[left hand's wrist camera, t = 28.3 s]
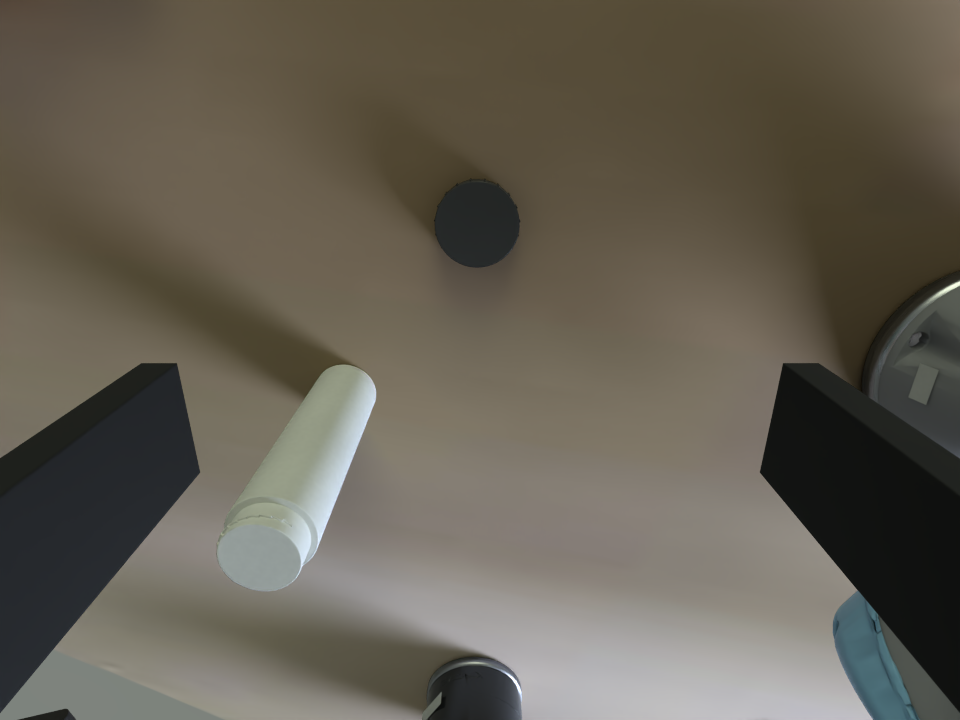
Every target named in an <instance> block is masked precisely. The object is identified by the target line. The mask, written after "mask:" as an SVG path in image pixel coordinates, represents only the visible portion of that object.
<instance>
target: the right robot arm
mask: <svg viewBox="0 0 960 720" xmlns="http://www.w3.org/2000/svg"><path fill="white" fill-rule="evenodd" d="M521 701H522V695H521V685H520V682H519V680H518V678H517V676H516V675H515V674H514V672H513V671H512V670H511V669H509V668H508V667H507V666H505V665H503V664H502V663H499V662H497V661H494V660H491V659H487V658H480V657H468V658H461V659H457V660H454V661H451V662H449V663H447V664H445V665H443V666H442V667H440V668H439V669H438V670H437V671H436V672H435V673H434V674H433V675H432V677H431V679H430V681H429V684H428V690H427V708H426V710H425V711H424V712H423V715H422V720H522V710H521ZM19 720H76V719H75V718H74V716H73V715H72V714H71V713H70V712H69V710H68V709H62V710H58V711H54V712H49V713H45V714H41V715H36V716H32V717H28V718H24V719H19Z"/></svg>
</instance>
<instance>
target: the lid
mask: <svg viewBox="0 0 960 720" xmlns="http://www.w3.org/2000/svg"><path fill="white" fill-rule="evenodd" d="M437 207H438V210H437V213H436V217H435V219H434V221H435V232H436V236H437V239H438V242H439V244H440V246H441V248H442V249H443V250H444V252H445V253H446V254H447V255H448V256H449V257H450V258H451V259H453V260H454V261H456V262H458V263H460V264H462V265H465V266H469V267H486V266H490V265H493V264H495V263H497V262H499V261H500V260H502V259H503V258H504V257H505V256H506V255H507V254H508V253H509V252H510V251H511V249H513V246H514V245H515V243H516V240H517V237H518V236H519V235H518V233H519V222H520V220H519V215H518V212H517V206H516V204H514V202H513V200H512V199H511V197H510V194H509V193H507V192H506V191H505V190H504V189H503V188H501V187H500V186H499V184H495V183H493V182H490V181H486V179H484V180H480V179H474V180H472V179H470V180H468V181H465V182H462V183H460V184H458V183H457V184H456V186H455V187H453V188H452V189H451V190H450V191H449V192H446V193H445V196H444V198H443V199H442V201H441V203H440V204H439V205H438V206H437Z"/></svg>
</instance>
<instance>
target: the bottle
mask: <svg viewBox="0 0 960 720" xmlns="http://www.w3.org/2000/svg"><path fill="white" fill-rule="evenodd" d="M375 399H376V389H375V386H374V383H373V381H372V380H371V378H370V377H369V376H368V375H367V374H366V373H365V372H364V371H362V370H361V369H359V368H357V367H354V366H351V365H336V366H332V367H330V368H328V369H326V370H325V371H324V372H323V373H322V374H321V375H320V377H319V378H318V379H317V381H316V382H315V384H314V385H313V387H312V388H311V390H310V391H309V393H308V394H307V396H306V397H305V399H304V400H303V402H302V403H301V405H300V406H299V408H298V409H297V411H296V412H295V414H294V415H293V417H292V419H291V420H290V422H289V423H288V425H287V426H286V428H285V429H284V431H283V432H282V434H281V435H280V437H279V438H278V440H277V441H276V443H275V444H274V446H273V447H272V449H271V450H270V452H269V453H268V455H267V456H266V458H265V459H264V461H263V462H262V464H261V465H260V467H259V468H258V470H257V471H256V473H255V474H254V476H253V477H252V479H251V480H250V482H249V483H248V485H247V486H246V488H245V489H244V491H243V492H242V494H241V495H240V497H239V498H238V500H237V501H236V503H235V504H234V506H233V507H232V509H231V510H230V512H229V513H228V515H227V517H226V520H225V525H224V530H223V531H222V533H221V534H220V537H219V540H218V543H217V553H216V554H217V559H218V562H219V565H220V567H221V569H222V570H223V572H224V573H225V574H226V575H227V576H228V577H229V578H230V579H231V580H232V581H233V582H235V583H237V584H239V585H241V586H243V587H245V588H248V589H252V590H257V591H273V590H278V589H281V588H283V587H285V586H287V585H289V584H290V583H292V582H293V581H294V580H295V579H296V577H297V576H298V574H299V573H300V570H301V568H302V566H303V565H304V564H305V563H307V562H308V561H309V560H310V559H311V558H312V557H313V555H314V554H315V552H316V550H317V547H318V545H319V542H320V540H321V537H322V535H323V532H324V530H325V527H326V525H327V522H328V520H329V517H330V514H331V512H332V509H333V507H334V504H335V502H336V499H337V497H338V494H339V492H340V489H341V487H342V484H343V482H344V479H345V476H346V474H347V471H348V469H349V466H350V464H351V461H352V459H353V456H354V454H355V451H356V449H357V446H358V443H359V441H360V438H361V436H362V433H363V431H364V428H365V426H366V423H367V421H368V418H369V416H370V413H371V411H372V408H373V405H374V403H375Z"/></svg>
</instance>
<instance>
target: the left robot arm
mask: <svg viewBox="0 0 960 720" xmlns="http://www.w3.org/2000/svg"><path fill="white" fill-rule="evenodd" d="M862 391H863V393H862V392H860V391H859V390H857V389H856V388H854V387H853V386H851V385H850V384H848V383H847V382H846V381H844V380H843V379H841V378H840V377H838V376H837V375H835V374H834V373H832V372H831V371H829V370H828V369H826V368H825V367H823V366H822V365H820V364H819V363H783V367H782V371H781V376H780V381H779V385H778V390H777V395H776V399H775V404H774V409H773V414H772V418H771V423H770V428H769V432H768V437H767V442H766V446H765V451H764V456H763V460H762V465H761V470H760V473H761V474H762V476H763V477H764V478H765V479H766V480H767V482H768V483H769V484H770V485H771V486H772V488H773V489H774V490H775V491H776V492H777V494H778V495H779V496H780V497H781V498H782V500H783V501H784V502H785V503H786V504H787V506H788V507H789V508H790V509H791V510H792V512H793V513H794V514H795V515H796V516H797V518H798V519H799V520H800V521H801V522H802V524H803V525H804V526H805V527H806V528H807V530H808V531H809V532H810V533H811V534H812V536H813V537H814V538H815V539H816V541H817V542H818V543H819V544H820V545H821V547H822V548H823V549H824V550H825V551H826V553H827V554H828V555H829V556H830V557H831V559H832V560H833V561H834V562H835V563H836V565H837V566H838V567H839V568H840V569H841V571H842V572H843V573H844V574H845V575H846V577H847V578H848V579H849V580H850V581H851V583H852V584H853V585H854V586H855V587H856V589H857V590H858V591H857V592H856V593H855V594H853V595H852V596H851V597H850V598H849V599H848V600H847V601H846V602H844V603H843V604H842V605H841V606H840V608H839V609H838V611H837V612H836V614H835V617H834V620H833V636H834V639H835V647H836V650H837V653H838V656H839V659H840V661H841V664H842V666H843V668H844V670H845V672H846V675H847V677H848V679H849V680H850V682H851V684H852V686H853V688H854V690H855V691H856V693H857V695H858V697H859V698H860V700H861V702H862V703H863V705H864V706H865V708H866V710H867V711H868V713H869V714H870V716H871V717H872V719H873V720H960V271H958V272H955V273H952V274H950V275H947V276H945V277H943V278H941V279H939V280H937V281H935V282H933V283H931V284H929V285H928V286H926V287H924V288H923V289H921V290H920V291H918V292H917V293H916V294H914V295H913V296H912V297H911V298H909V299H908V300H907V301H906V302H905V303H903V304H902V305H901V306H900V307H899V308H898V309H897V310H896V311H895V312H894V313H893V314H892V316H891V317H890V318H889V319H888V320H887V322H886V323H885V324H884V325H883V327H882V328H881V330H880V331H879V333H878V334H877V336H876V338H875V340H874V342H873V344H872V346H871V348H870V350H869V353H868V355H867V358H866V361H865V366H864V370H863V377H862ZM199 473H200V470H199V465H198V460H197V456H196V451H195V446H194V442H193V437H192V432H191V428H190V423H189V418H188V414H187V409H186V404H185V399H184V395H183V390H182V385H181V381H180V376H179V371H178V367H177V363H141V364H140V365H138V366H137V367H135V368H134V369H132V370H131V371H129V372H128V373H126V374H125V375H123V376H122V377H120V378H119V379H117V380H116V381H114V382H113V383H112V384H110V385H109V386H107V387H106V388H104V389H103V390H101V391H100V392H98V393H97V394H95V395H94V396H92V397H91V398H89V399H88V400H86V401H85V402H83V403H82V404H80V405H79V406H77V407H76V408H74V409H73V410H71V411H70V412H68V413H67V414H65V415H64V416H62V417H61V418H60V419H58V420H57V421H55V422H54V423H52V424H51V425H49V426H48V427H46V428H45V429H43V430H42V431H40V432H39V433H37V434H36V435H34V436H33V437H31V438H30V439H28V440H27V441H25V442H24V443H22V444H21V445H19V446H18V447H16V448H15V449H13V450H12V451H10V452H9V453H8V454H6V455H5V456H3V457H2V458H0V713H1V711H2V710H3V709H4V708H5V707H6V705H7V704H8V703H9V702H10V701H11V699H12V698H13V697H14V696H15V695H16V693H17V692H18V691H19V690H20V688H21V687H22V686H23V685H24V684H25V682H26V681H27V680H28V679H29V678H30V676H31V675H32V674H33V673H34V672H35V670H36V669H37V668H38V667H39V666H40V664H41V663H42V662H43V661H44V660H45V658H46V657H47V656H48V655H49V654H50V652H51V651H52V650H53V649H54V648H55V646H56V645H57V644H58V643H59V642H60V640H61V639H62V638H63V637H64V636H65V634H66V633H67V632H68V631H69V630H70V628H71V627H72V626H73V625H74V624H75V622H76V621H77V620H78V619H79V618H80V616H81V615H82V614H83V613H84V612H85V610H86V609H87V608H88V607H89V606H90V604H91V603H92V602H93V601H94V599H95V598H96V597H97V596H98V595H99V593H100V592H101V591H102V590H103V589H104V587H105V586H106V585H107V584H108V583H109V581H110V580H111V579H112V578H113V577H114V575H115V574H116V573H117V572H118V571H119V569H120V568H121V567H122V566H123V565H124V563H125V562H126V561H127V560H128V559H129V557H130V556H131V555H132V554H133V553H134V551H135V550H136V549H137V548H138V547H139V545H140V544H141V543H142V542H143V541H144V539H145V538H146V537H147V536H148V534H149V533H150V532H151V531H152V530H153V528H154V527H155V526H156V525H157V524H158V522H159V521H160V520H161V519H162V518H163V516H164V515H165V514H166V513H167V512H168V510H169V509H170V508H171V507H172V506H173V504H174V503H175V502H176V501H177V500H178V498H179V497H180V496H181V495H182V494H183V492H184V491H185V490H186V489H187V488H188V486H189V485H190V484H191V483H192V482H193V480H194V479H195V478H196V477H197V476H198V474H199Z"/></svg>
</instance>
